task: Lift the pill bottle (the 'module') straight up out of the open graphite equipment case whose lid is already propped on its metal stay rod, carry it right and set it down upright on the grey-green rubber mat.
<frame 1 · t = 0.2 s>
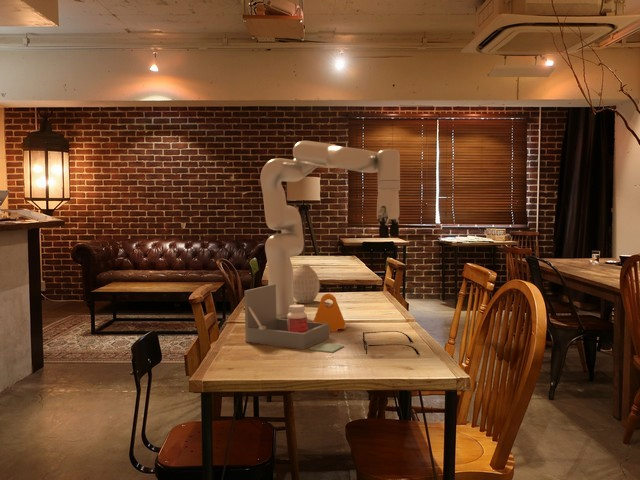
hand: (389, 236, 183), 31 cm above the table, fingers open, 9 cm apart
mat: (326, 348, 158), on the table
eyeglasses: (389, 350, 157), on the table
case: (289, 339, 169), on the table
vase: (305, 302, 236), on the table
pill bottle: (297, 341, 167), resting in case
bracket: (328, 329, 183), on the table
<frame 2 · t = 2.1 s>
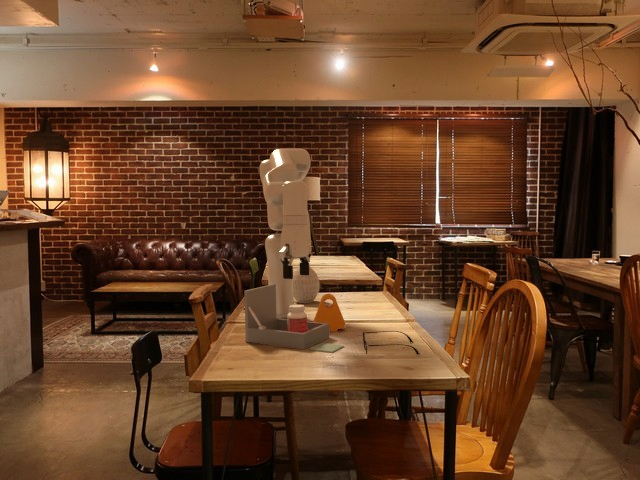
hand: (296, 276, 166), 20 cm above the table, fingers open, 9 cm apart
nothing on the table moved.
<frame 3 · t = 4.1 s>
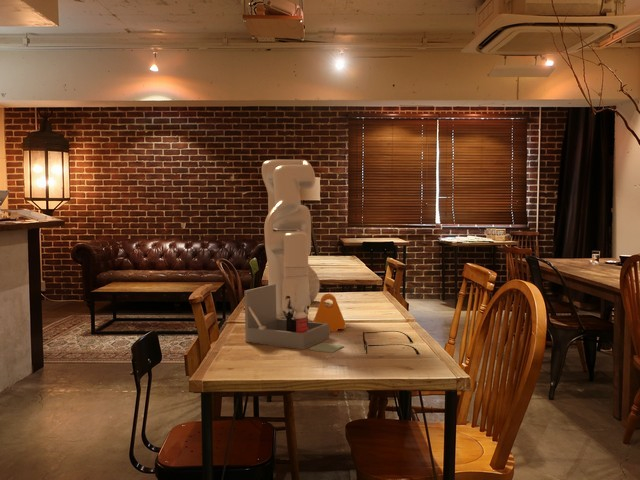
hand: (297, 329, 167), 4 cm above the table, fingers closed on pill bottle, 6 cm apart
pill bottle: (297, 341, 167), resting in case, touching gripper
everything else where it was.
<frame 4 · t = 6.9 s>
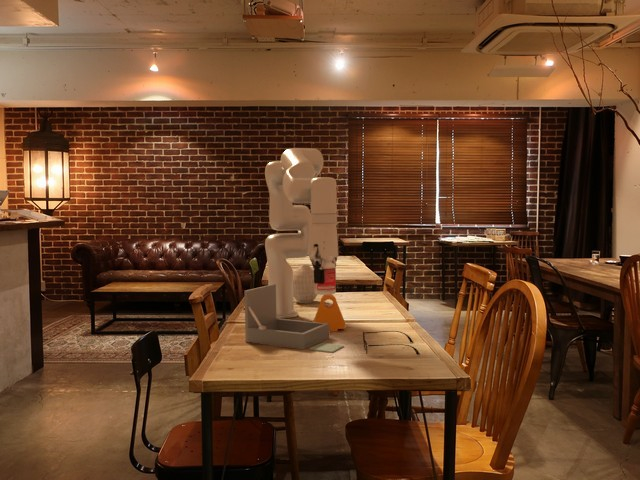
hand: (325, 281, 157), 20 cm above the table, fingers closed on pill bottle, 6 cm apart
pill bottle: (325, 294, 157), point 16 cm above the table, touching gripper
everything else where it was.
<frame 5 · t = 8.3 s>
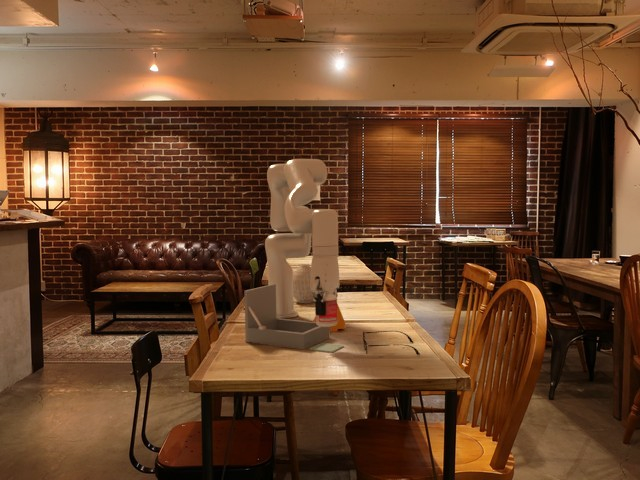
hand: (326, 312, 157), 11 cm above the table, fingers closed on pill bottle, 6 cm apart
pill bottle: (326, 325, 157), point 7 cm above the table, touching gripper
everything else where it was.
when the fingers open (5 cm above the table, at t = 9.7 s): pill bottle stays where it is, resting on mat.
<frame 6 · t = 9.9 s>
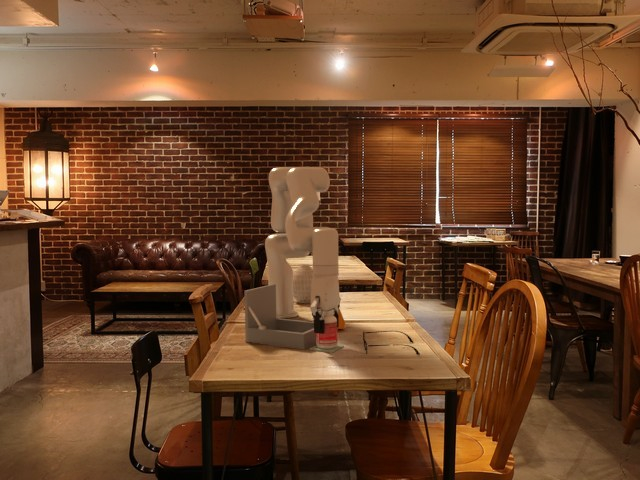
hand: (326, 329, 157), 5 cm above the table, fingers open, 8 cm apart
pill bottle: (326, 347, 158), resting on mat
everything else where it was.
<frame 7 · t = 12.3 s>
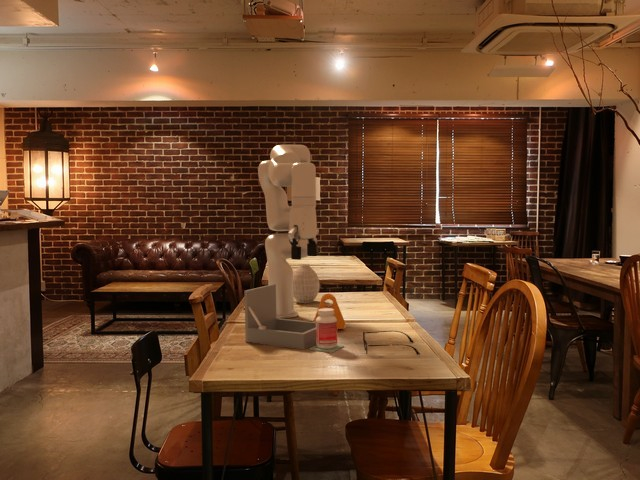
hand: (304, 257, 168), 26 cm above the table, fingers open, 9 cm apart
nothing on the table moved.
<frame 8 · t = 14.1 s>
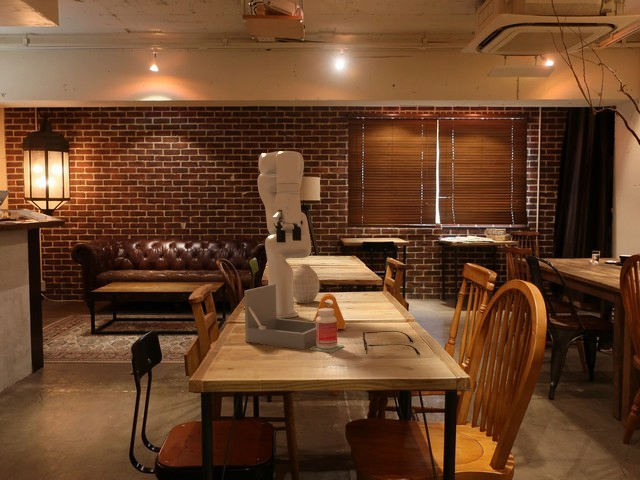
hand: (289, 241, 177), 30 cm above the table, fingers open, 9 cm apart
nothing on the table moved.
at the end: pill bottle inside the target area on the mat (0.3 cm from its centre), point 0.2 cm above the mat's base; pill bottle tilted 0°; the gripper is holding nothing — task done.
